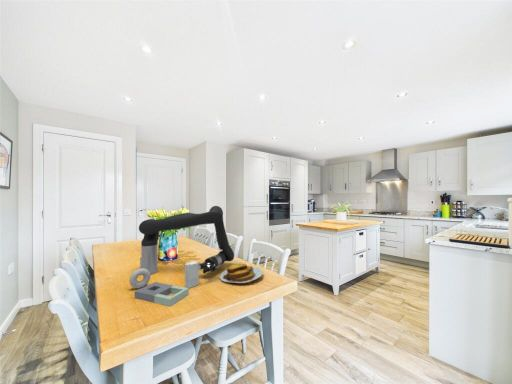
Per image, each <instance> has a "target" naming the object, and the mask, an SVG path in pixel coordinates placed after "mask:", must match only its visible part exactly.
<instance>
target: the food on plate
mask: <svg viewBox="0 0 512 384" xmlns="http://www.w3.org/2000/svg"><path fill="white" fill-rule="evenodd" d="M263 273H264V271H263V270H262V269H261V268H259V267H255V266H253V265H252V266H250V265H247V264H245V263H234V264H230V265H229V266H228V267H227V269H226V270H224V271H223V272H221V273H220V274H219V278H220V280H221V281H223V282H225V283H230V282H232V283H233V284H235V283H236V284H246V283H247V285H250V283H251V282H253V281H256V280H257V279H258V278H261V277H262V276H263ZM232 286H233V285H232Z"/></svg>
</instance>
